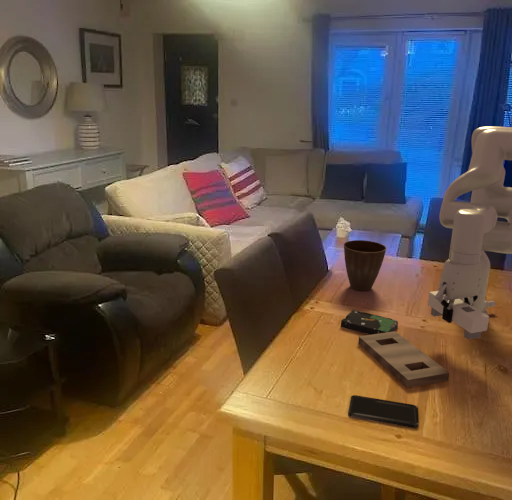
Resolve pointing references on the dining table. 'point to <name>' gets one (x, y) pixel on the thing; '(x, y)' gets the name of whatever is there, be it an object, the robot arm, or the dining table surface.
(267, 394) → the dining table surface
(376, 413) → the phone
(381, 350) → the slot board
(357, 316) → the disk drive
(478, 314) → the power strip
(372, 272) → the plant pot
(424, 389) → the dining table surface
